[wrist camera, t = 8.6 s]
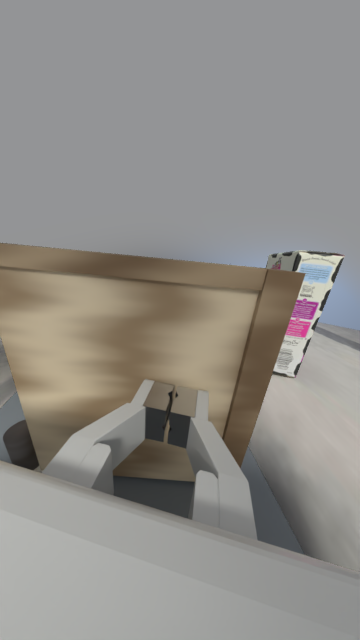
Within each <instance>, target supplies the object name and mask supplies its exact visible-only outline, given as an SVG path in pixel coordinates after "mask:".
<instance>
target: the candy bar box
mask: <svg viewBox="0 0 360 640" xmlns="http://www.w3.org/2000/svg"><path fill="white" fill-rule="evenodd" d="M344 257H345V255H341V254H337V253H326V252H315V251H301V250H300V251H292V252H285V253H277V254H271V255H269V258H268V262H267V265H266V268H267V269H278V270H286V271H294V272H301V273H306V274H305V277H304V280H303V283H302V286H301V289H300V292H299V295H298V298H297V301H296V304H295V307H294V310H293V313H292V316H291V319H290V322H289V325H288V328H287V331H286V334H285V337H284V340H283V343H282V346H281V349H280V352H279V355H278V358H277V361H276V364H275V367H274V370H273V373H272V374H276V375H281V376H286V377H292V378H295V377H296V375H297V372H298V370H299V367H300V364H301V362H302V360H303V357H304V355H305V352H306V350H307V347H308V345H309V342H310V340H311V337H312V335H313V333H314V330H315V327H316V325H317V322H318V319H319V317H320V315H321V313H322V310H323V308H324V305H325V303H326V300H327V298H328V295H329V293H330V290H331V288H332V286H333V283H334V281H335V278H336V276H337V273H338V271H339V268H340V265H341V263H342V261H343V259H344Z"/></svg>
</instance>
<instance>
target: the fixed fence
mask: <svg viewBox="0 0 360 640" xmlns="http://www.w3.org/2000/svg"><path fill="white" fill-rule="evenodd" d="M3 441H4V444H5V447H6V449H7V452H8V454H9V457H10V460H11V462H12V464H14V465H17V466H20V467H23V468H27V469H30V470H33V471H34V469H35V468H37V467H38V466H39V462H38V459H37V456H36V452H35V449H34V446H33V442H32V439H31V436H30V432H29V429H28V426H27V422H26V420H22V421H20V422H18V423H16V424H14V425H13V426H11V427H10V428H9V429H8V430H7V431H6V432H5V433H4V435H3Z"/></svg>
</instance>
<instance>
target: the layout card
mask: <svg viewBox="0 0 360 640" xmlns="http://www.w3.org/2000/svg"><path fill="white" fill-rule="evenodd" d="M22 420H26V419H25V416H24V413H23V409H22V406H21V403H20V399H19V396H18V393H17V391H16V393H15V394H14V395H13V396H12V397H11V398H10V399H9V400H8V401H7V402H6V403H5V404H4V405H3V406H2V407H1V408H0V460H1V461H4V462H7V463H11V464H12V462H11V460H10V457H9V454H8V452H7V449H6V447H5V444H4V441H3V435H4V433H5V432H6V431H7V430H8V429H9V428H10V427H11V426H13V425H14V424H16V423H18V422H20V421H22ZM240 469H241V471H242V472H243V474H244V476H245V477H246V479H247V480H248V483H249V489H250V496H251V502H252V508H253V515H254V521H255V527H256V534H257V540H258V541H261V542H264V543H268V544H271V545H274V546H277V547H280V548H284V549H287V550H290V551H293V552H297V553H300V554H303V555H305V554H304V552H303V550H302V548H301V546H300V544H299V542H298V541H297V539H296V537H295V535H294V533H293V531H292V529H291V527H290V525H289V523H288V521H287V520H286V518H285V516H284V514H283V512H282V510H281V508H280V506H279V504H278V502H277V500H276V498H275V497H274V495H273V493H272V491H271V489H270V487H269V485H268V483H267V481H266V479H265V477H264V476H263V474H262V472H261V470H260V468H259V466H258V464H257V462H256V460H255V458H254V456H253V454H252V453H251V451H250V449H249V447H247V450H246V453H245V456H244V459H243V462H242V465H241V468H240ZM34 471H36V472H40V473H42V472H43V470H41V469H40V466H38V467H37V468H35V469H34ZM194 484H195V482H192V481H178V480H165V479H152V478H138V477H125V476H113V485H114V494H113V495H114V496H117V497H120V498H123V499H126V500H130V501H133V502H136V503H139V504H143V505H146V506H149V507H152V508H155V509H159V510H162V511H165V512H168V513H171V514H175V515H178V516H181V517H184V518H187V519H188V514H189V509H190V504H191V499H192V494H193V489H194Z"/></svg>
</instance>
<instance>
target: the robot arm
mask: <svg viewBox="0 0 360 640" xmlns="http://www.w3.org/2000/svg"><path fill="white" fill-rule="evenodd" d="M174 390H175V385H172V384H167V383H163V382H158V381H153V380H149V379H145V380H144V381H143V383H142V384H141V386H140V388H139V389H138V391H137V393H136V395H135V396H134V398H133V400H132V401H131V403H126V404H124V405H123V406H121V407H119V408H117V409H116V410H114V411H112V412H111V413H109V414H107V415H105V416H104V417H102V418H100V419H98V420H97V421H95V422H93V423H92V424H90V425H88V426H86V427H85V428H83V429H81V430H79V431H78V432H76V433H74V434H73V435H72V436H71V437H70V438H69V440H68V441H67V442H66V443H65V444H64V446H63V447H62V448H61V449H60V451H59V452H58V453H57V454H56V456H55V457H54V458H53V459H52V460H51V462H50V463H49V464H48V465H47V467H46V468H45V469H44V470H43V472H42V473H40V472H36V471H33V470H30V469H27V468H23V467H20V466H17V465H14V464H11V463H7V462H4V461H1V460H0V640H360V572H358V571H354V570H351V569H348V568H345V567H342V566H338V565H335V564H332V563H329V562H325V561H322V560H319V559H316V558H313V557H309V556H306V555H303V554H300V553H297V552H293V551H290V550H287V549H284V548H280V547H277V546H274V545H271V544H268V543H264V542H261V541H258V540H257V534H256V527H255V521H254V515H253V508H252V502H251V496H250V489H249V483H248V480H247V479H246V477H245V476H244V474H243V472H242V471H241V469H240V467H239V466H238V464H237V463H236V461H235V459H234V458H233V456H232V454H231V453H230V451H229V450H228V448H227V446H226V445H225V443H224V441H223V440H222V438H221V437H220V435H219V433H218V432H217V430H216V428H215V427H214V425H213V424H212V422H210V421H208V406H209V392H208V391H203V390H197V389H192V388H186V387H181V386H178V387H177V390H176V396H175V399H173V395H174ZM168 421H169V425H170V427H169V431H168V442H167V443H168V444H171V445H175V446H178V447H182V448H185V449H186V451H187V454H188V457H189V460H190V463H191V466H192V469H193V472H194V475H195V478H196V479H195V484H194V489H193V494H192V499H191V504H190V509H189V514H188V519H187V518H184V517H181V516H178V515H175V514H171V513H168V512H165V511H162V510H159V509H155V508H152V507H149V506H146V505H143V504H139V503H136V502H133V501H130V500H126V499H123V498H120V497H117V496H114V495H113V494H114V485H113V470H114V469H115V468H116V467H117V466H118V465H119V464H120V463H121V462H122V461H123V460H124V459H125V458H126V457H127V456H128V455H129V454H130V453H131V452H132V451H133V450H134V449H135V448H137V447H138V446H139V445H140V444H141V443H142V442H143V441H144V440H145V438H146V439H150V440H155V441H159V442H164V439H165V435H166V431H167V427H168Z"/></svg>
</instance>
